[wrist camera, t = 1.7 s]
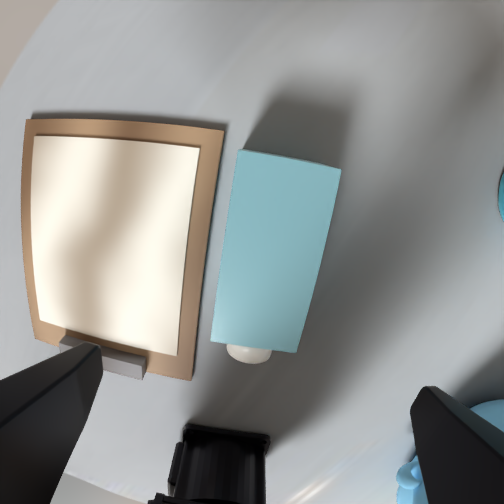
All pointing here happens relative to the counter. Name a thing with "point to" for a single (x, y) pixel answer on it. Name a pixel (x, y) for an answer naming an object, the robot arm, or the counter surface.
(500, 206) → the tube
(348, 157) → the counter surface
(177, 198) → the clipboard
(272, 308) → the light blue block
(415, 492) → the decorative pot
